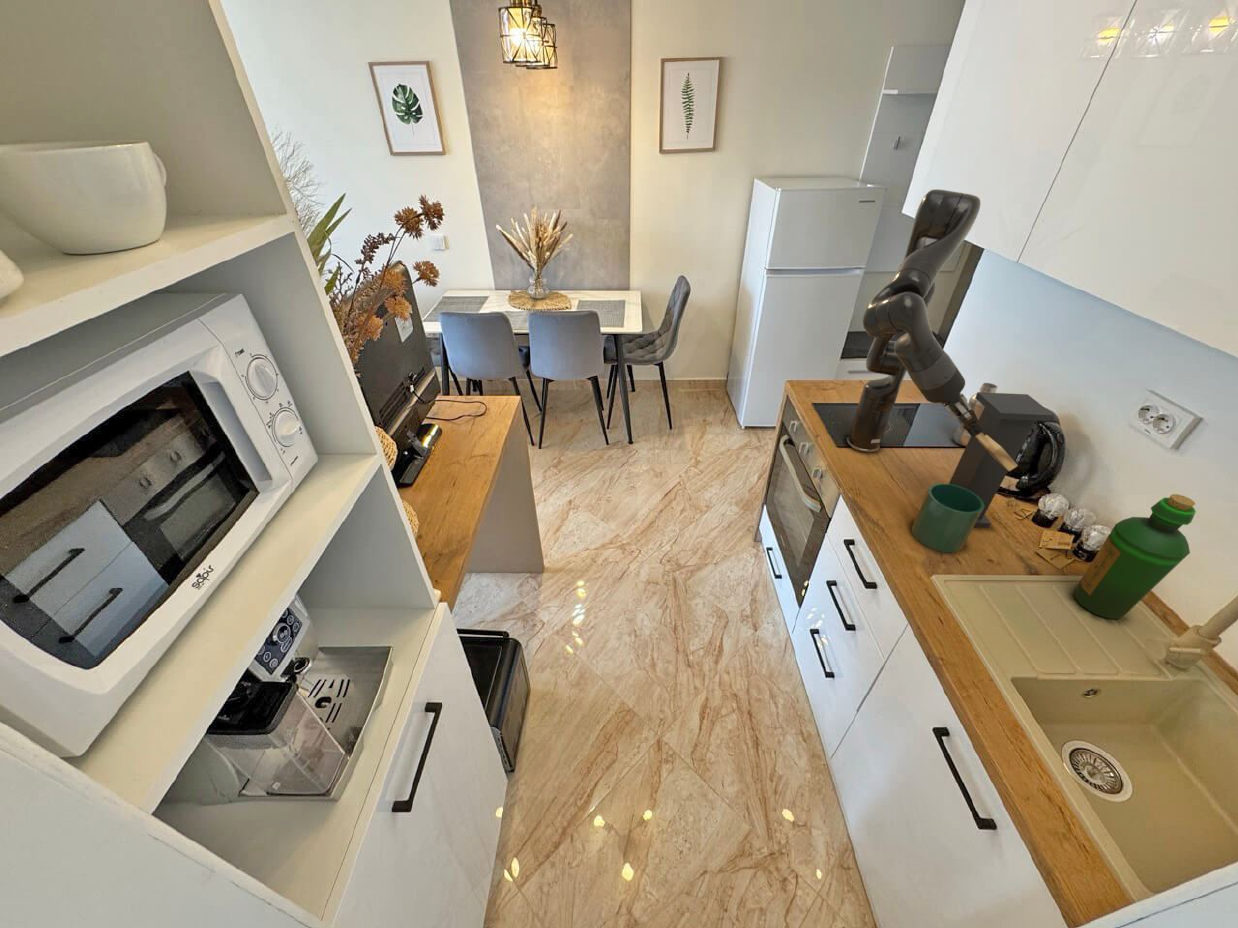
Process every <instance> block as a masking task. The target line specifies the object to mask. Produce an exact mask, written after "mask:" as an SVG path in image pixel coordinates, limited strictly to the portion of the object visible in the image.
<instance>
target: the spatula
mask: <svg viewBox="0 0 1238 928" xmlns="http://www.w3.org/2000/svg"><path fill="white" fill-rule="evenodd" d="M955 414H956V413H955ZM975 437H976V438H977V439H978V441H979V442H980V443H981V444H982V446H983V447H984V448H985V449H986V450H987V451H988V452H989V453H990V454H991V456H992V457H993V458H994V459H995V460H996V461H998V462H999V463H1000V464H1001V465H1002V466H1003V467H1004V468H1006V469H1007V470H1008V472H1011V471H1012V470H1014V469H1016V468H1017V467H1018V466H1019V465H1018V464H1017V462H1015V460H1014V461H1013V459H1012V458H1011V457H1010V456H1009V455H1008V454H1007V453H1006V451H1005V450H1004V449H1003V448H1002V447H1001V446H1000V445H999V444H997V443H996V442H995V441H994V440H993V439H991V438H990V437H989V436H988V435H985V436H984V435H983V433H980V434H978V435H976V436H975Z"/></svg>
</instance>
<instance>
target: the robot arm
mask: <svg viewBox="0 0 1238 928" xmlns="http://www.w3.org/2000/svg"><path fill="white" fill-rule="evenodd" d="M981 205H982V204H981V199H980V197H978V196H977V195H974V194H971V193H963V192H961V191H960V192H959V191H952V190H946V189H939V188H938V189H931V190H929V191H928V192H927V193H925V195H924V196H923V197H922V199H921V201H920V203H919V205H918V207H917V210H916V213H915V217H914V220H913V223H912V226H911V230H910V234H909V237H908V241H907V243H906V248H905V252H904V255H903V259H902V262H901V264H900V265H899V267H898V268H897V270H896V272H895V274H894V275H893V277H892V278H891V280H890V282H889V283H888V284H887V285H885V286H884V287H883V288H882V289H880V290H879V292H878V293H877V294H876V295H875V296H874V297H873V298H872V299H871V301H869V303H868V304H867V305H866V307H865V309H864V312H863V315H862V326H863V329H864V331H865V332H866V333H867V335H869V336H870V337H872V338H874V339H873V341H872V343H871V345H870V348H869V350H868V353H867V355H866V361H865V367H866V370H867V371H868V372H871V373H874V374H879V375H885V376H886V377H883V378H878V379H872V380H868V381H867V382H865V384H864V385H863V388H862V391H861V395H860V398H859V401H858V405H857V407H856V411H855V415H854V418H853V421H852V424H851V426H850V430H849V434H848V436H847V439H846V444H847V445H848V446H849V447H850V448H852V449H853V450H855V451H857V452H861V453H868V454H869V453H875V452H878V451H879V449H880V447H881V444H882V440H883V438H884V435H885V432H886V430H887V427H888V423H889V421H890V418H891V415H892V412H893V409H894V406H895V404H896V400H897V397H898V395H899V392H900V389H901V387H902V384H903V382H904V378H905V376H906V374H908V376H909V378H910V380H911V381H912V382H913V383H914V385H915V387H916V388H917V389H918V391H919V392H920V393H921V395H922V396H923V397H924V399H925V400H926V401H927V402H929V403H931V404H941V406H943V407H944V409H945V410H946V411H947V412H948V413H949V414H950V415H951V416H952V418H954V420H955V421H958V422H959V424H961V425H962V426H963V428H964V429H965V430H967V431H968V433H969V434H970V435H971V436H972V437H975V436H976V435H978V434H980V433H982V429H981V428H980V426H979V425H978V424H977V423H979V420H978V419H977V417H976V414H975V413H974V410H972V408H971V407H970V405H969V404H968V403H969V402H968V399H967V397H966V396H965V395H964V394H963V393H961V392H962V391H963V390H964V388H965V386H966V380H965V378H964V376H963V375H962V373H961V372H960V370H959V368H958V367H957V365H956V364H955V363H954V361H953V359H952V358H951V357H950V355H949V354H948V353H947V352H946V351H945V350H944V349H943V348H942V346H941V345H940V343H939V341H938V340H937V339H936V337H935V335H934V334H933V331H932V327H931V323H930V319H929V316H928V312H927V311H928V309H929V306H930V304H931V301H932V299H933V297H934V295H935V293H936V287H937V285H936V278H937V277H938V274H940V271H941V270H942V268H943V267H944V266H945V264H947V262H948V261H949V260H950V258H952V256H953V255H954V253H955V252H956V251H957V250H958V248H959V247H960V246H961V244H962V243H963V242H964V241H965V239H966V237H968V235H969V233H970V232H971V230H972V228H973V227H974V224H975V223H976V219H978V215H979V212H980V209H981ZM928 239H929V240H934V241H933V242H931V243H927V241H928ZM903 332H905V333H904V334H903V335H901V336H900V337H899V338H897V340H896V341H893V340H892V339H893V338H894V337H895V336H897V334H901V333H903ZM955 413H956V414H955Z"/></svg>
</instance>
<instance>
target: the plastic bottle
mask: <svg viewBox="0 0 1238 928" xmlns="http://www.w3.org/2000/svg"><path fill="white" fill-rule="evenodd" d="M997 389H998V385H996V384H994V383H990V382H983V383H982V385H981V387H980V388H979V392H985V393H997V392H996V391H997ZM977 393H978V392H976V393H974V394H973V395H972V396H970V398H969V399H968V402H967V403H968V404H969V405H970V407H971V408H972V410H974V413H975V414H976V417H977V419H978V420H979V418H980V416H981V414H982V412H983V410H984V408H985V407H984V406H983V405H982V404H981V403H980V402H979V401H978V400H977V399H976V398H975V397H976V395H977ZM959 424H960V423H959ZM970 437H971V435H970V434H969V433H968V431H967V430H965V429H964V428H963V426H962V425H961V424H960V425H959V426H958V427H957V428H956V430H955V432H954V435H953V440H954V442H955V443H956V444H957V445H960V446H963V447H966V446H967V444H968V442H969V439H970Z"/></svg>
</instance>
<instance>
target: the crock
mask: <svg viewBox="0 0 1238 928" xmlns="http://www.w3.org/2000/svg"><path fill="white" fill-rule="evenodd" d="M983 508H984V503H983V501H982V500H981V498H980V497H979V496H978V495H976V494H975V493H974V492H972V491H970V490H968V489H966V488H963V487H961V486H958V485H953V484H949V482H947V483H945V482H938V483H935V484H932V485H931V486H929V488H928V490H927V492H926V494H925V497H924V498H923V500H922V503H921V505H920V508H919V510H918V512H917V515H916V516H915V518H914V521H913V523H912V526H911V534H912V535H913V536H914V538H915V539H916V540H917V541H918V542H919V543H920V544H922V545H924V546H925V547H926V548H927V547H928V548H930V549H931V550H934V551H937V552H940V553H941V552H942V553H956V552H959V551H961V550H962V549H963V547H964V546H965V544H966V542H967V540H968V539H969V536H970V535H971V533H972V531H973V529H974V528H975V527H974V525H975V523H976V522H977V520H978V518H979V516H980V514H981V512H982V510H983Z"/></svg>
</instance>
